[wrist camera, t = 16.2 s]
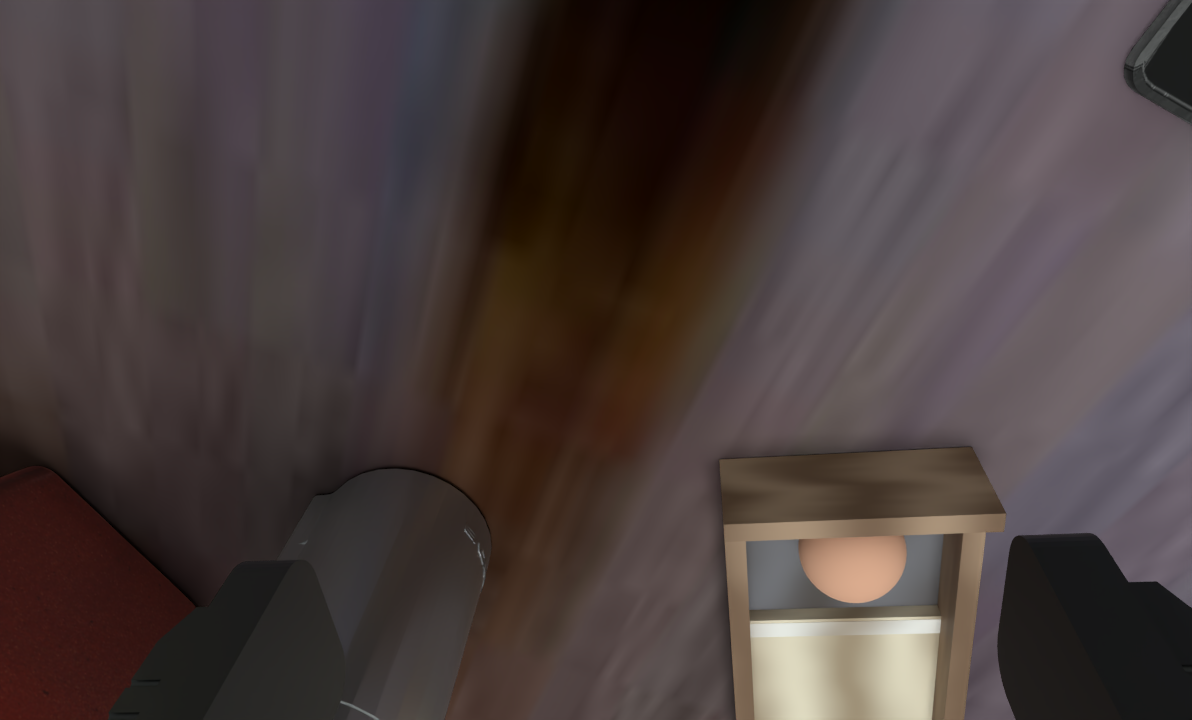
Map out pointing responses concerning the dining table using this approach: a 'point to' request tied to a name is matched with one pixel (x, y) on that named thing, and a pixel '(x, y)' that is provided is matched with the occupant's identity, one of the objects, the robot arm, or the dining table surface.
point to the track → (855, 630)
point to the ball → (854, 565)
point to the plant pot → (72, 603)
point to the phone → (1165, 61)
